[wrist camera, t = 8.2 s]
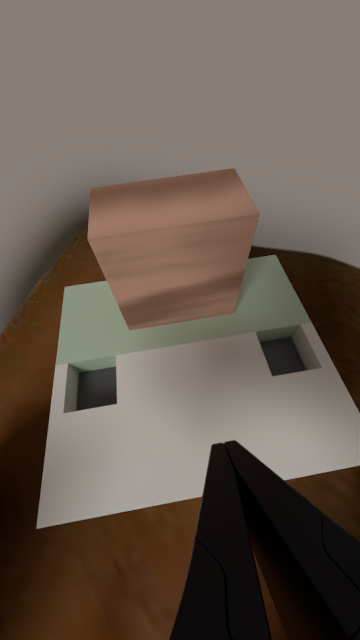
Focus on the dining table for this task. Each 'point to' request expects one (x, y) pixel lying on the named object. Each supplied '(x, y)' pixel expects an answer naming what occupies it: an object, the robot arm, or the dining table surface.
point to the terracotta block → (173, 245)
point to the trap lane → (188, 399)
